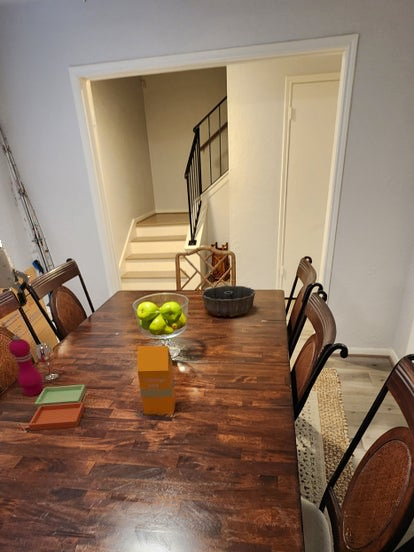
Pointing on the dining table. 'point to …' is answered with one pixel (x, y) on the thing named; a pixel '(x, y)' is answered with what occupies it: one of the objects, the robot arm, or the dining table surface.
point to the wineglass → (45, 357)
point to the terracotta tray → (57, 416)
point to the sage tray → (61, 395)
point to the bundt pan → (228, 300)
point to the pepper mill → (26, 367)
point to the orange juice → (156, 379)
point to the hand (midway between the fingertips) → (7, 306)
